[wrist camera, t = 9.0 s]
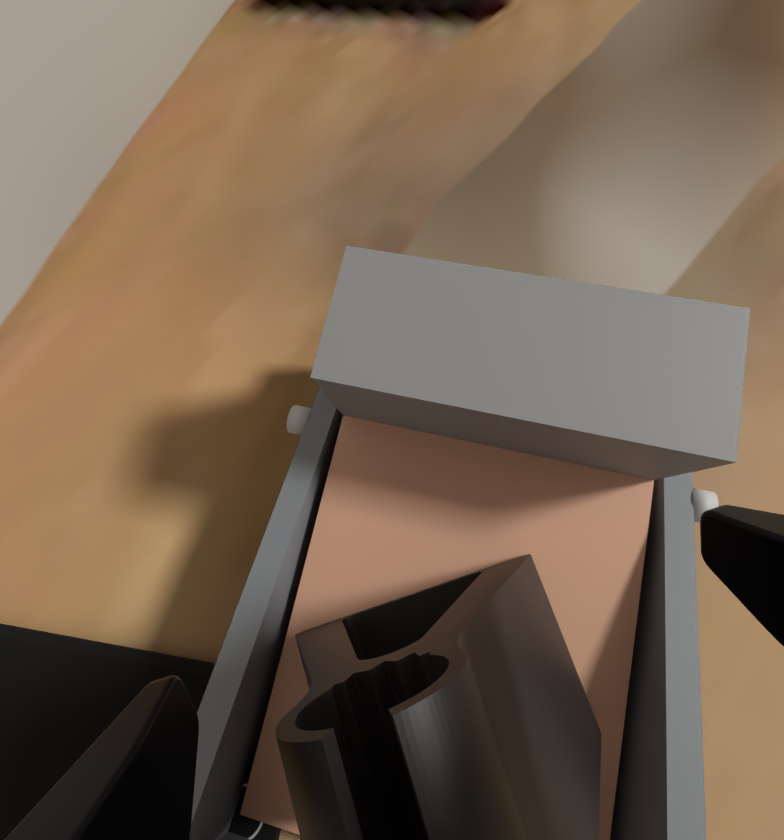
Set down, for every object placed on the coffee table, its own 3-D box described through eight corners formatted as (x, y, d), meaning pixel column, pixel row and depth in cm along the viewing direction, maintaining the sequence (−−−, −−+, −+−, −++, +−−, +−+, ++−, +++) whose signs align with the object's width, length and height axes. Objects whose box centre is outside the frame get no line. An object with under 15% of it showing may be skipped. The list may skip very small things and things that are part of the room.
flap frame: (653, 1020, 15) (761, 1176, 10) (175, 845, 17) (91, 909, 13) (654, 424, 24) (709, 368, 20) (346, 365, 27) (332, 303, 22)
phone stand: (344, 811, 16) (94, 1556, 4) (298, 630, 18) (17, 835, 6) (597, 729, 16) (1028, 1285, 4) (529, 552, 17) (711, 607, 6)
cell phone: (251, 982, 16) (242, 999, 15) (-215, 863, 18) (-245, 872, 17) (313, 681, 20) (308, 681, 19) (-71, 609, 22) (-90, 607, 21)
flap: (561, 844, 19) (674, 1141, 10) (282, 754, 21) (155, 934, 12) (624, 397, 23) (750, 308, 13) (382, 352, 24) (346, 245, 15)
